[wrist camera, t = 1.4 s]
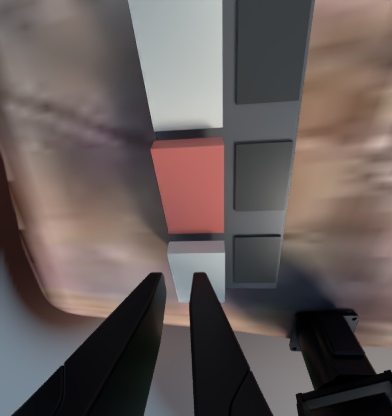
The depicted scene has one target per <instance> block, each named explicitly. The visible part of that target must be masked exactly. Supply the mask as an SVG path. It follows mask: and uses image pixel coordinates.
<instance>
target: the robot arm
mask: <svg viewBox="0 0 392 416" xmlns="http://www.w3.org/2000/svg"><path fill="white" fill-rule="evenodd" d="M165 303H166V286H165V280H164V275H163V273H161V272H152V273H150V274H149V275H148V276H147V277H146V278H145V279H144V280H143V281H142V282H141V283H140V284H139V285H138V286H137V287H136V288H135V289H134V290H133V291H132V292H131V293H130V294H129V296H128V297H127V298H126V299H125V300H124V301H123V302H122V303H121V304H120V305H119V306H118V307H117V308H116V309H115V310H114V311H113V312H112V313H111V314H110V315H109V316H108V317H107V318H106V320H105V321H104V322H103V323H102V324H101V325H100V326H99V327H98V328H97V329H96V330H95V331H94V332H93V333H92V334H91V335H90V336H89V337H88V338H87V339H86V340H85V341H84V343H83V344H82V345H81V346H80V347H79V348H78V349H77V350H76V351H75V352H74V353H73V354H72V355H71V356H70V357H69V358H68V359H67V360H66V361H65V363H64V366H63V365H62V366H60V367H59V369H57V371H56V372H55V373H54V374H53V375H52V376H51V377H50V378H49V379H48V380H47V381H46V382H45V383H44V384H43V385H42V386H41V387H40V388H39V389H38V390H37V391H36V392H35V393H34V394H33V395H32V396H31V397H30V398H29V399H28V400H27V401H26V402H25V403H24V404H23V405H22V406H21V407H20V408H19V409H18V410H17V411H15V412H14V413H13V414H12V415H11V416H144V412H145V408H146V403H147V399H148V395H149V391H150V386H151V382H152V378H153V373H154V369H155V364H156V360H157V356H158V352H159V347H160V342H161V335H162V327H163V319H164V311H165ZM189 314H190V333H191V354H192V376H193V396H194V416H273V414H272V412H271V410H270V408H269V406H268V404H267V402H266V400H265V398H264V397H263V394H262V392H261V390H260V388H259V386H258V384H257V382H256V379H255V377H254V375H253V373H252V371H250V367H249V365H248V363H247V360H246V358H245V356H244V354H243V352H242V349H241V348H240V345H239V343H238V341H237V339H236V337H235V334H234V332H233V330H232V328H231V326H230V324H229V321H228V319H227V317H226V315H225V313H224V311H223V308H222V306H221V304H220V302H219V300H218V298H217V295H216V293H215V291H214V289H213V287H212V285H211V282H210V280H209V278H208V276H207V274H206V273H205V272H194V274H193V279H192V286H191V293H190V301H189ZM358 321H359V316H358V315H357V314H356V313H330V312H299V313H297V314H296V315H295V319H294V324H293V329H292V334H291V339H290V344H289V347H290V350H291V351H301V352H302V355H303V358H304V361H305V364H306V367H307V370H308V373H309V376H310V379H311V382H312V385H313V388H314V391H310V392H307V393H303V394H302V393H298V394H296V399H297V410H298V416H392V372H391V370H387V371H384V373H380V374H376V372H375V370H374V369H373V367H372V365H371V364H370V362H369V360H368V358H367V357H366V355H365V352H364V350H363V348H362V347H361V345H360V343H359V341H358V340H357V338H356V336H355V334H354V331H355V329H356V326H357V324H358Z"/></svg>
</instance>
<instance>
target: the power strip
mask: <svg viewBox="0 0 392 416" xmlns="http://www.w3.org/2000/svg"><path fill="white" fill-rule="evenodd" d="M314 3H315V0H222V67H223V127H221V128H205V129H188V130H172V131H156V136H157V141H160V140H177V139H195V138H212V137H223V141H224V233H190V234H171V241H172V242H177V241H224V245H225V289H229V288H276V287H277V280H278V272H279V265H280V257H281V250H282V242H283V235H284V227H285V220H286V212H287V205H288V197H289V190H290V182H291V175H292V167H293V160H294V152H295V145H296V138H297V130H298V123H299V115H300V108H301V100H302V93H303V85H304V78H305V70H306V63H307V55H308V48H309V40H310V33H311V25H312V18H313V10H314Z"/></svg>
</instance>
